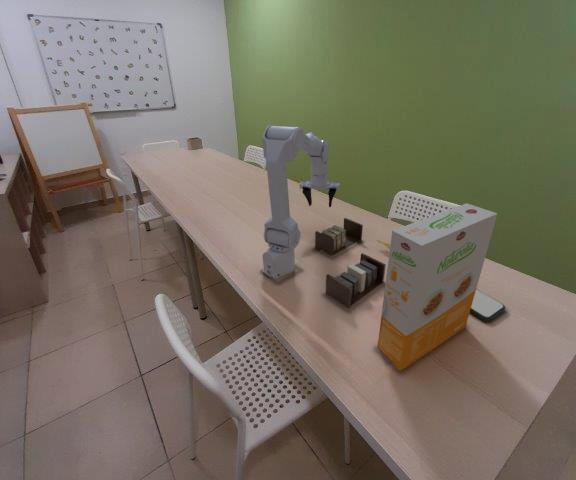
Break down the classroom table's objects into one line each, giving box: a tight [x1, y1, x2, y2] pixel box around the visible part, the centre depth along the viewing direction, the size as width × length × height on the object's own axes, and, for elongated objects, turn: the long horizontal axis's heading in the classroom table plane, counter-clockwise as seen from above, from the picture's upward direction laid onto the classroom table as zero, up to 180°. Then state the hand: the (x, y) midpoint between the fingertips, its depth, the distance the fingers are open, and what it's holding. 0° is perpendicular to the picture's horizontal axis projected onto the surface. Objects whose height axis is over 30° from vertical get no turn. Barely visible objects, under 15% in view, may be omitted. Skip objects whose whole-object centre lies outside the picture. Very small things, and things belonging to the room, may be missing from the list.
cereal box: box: [377, 203, 498, 372], centre depth 63 cm, size 22×6×30 cm, turn 120°
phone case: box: [469, 288, 506, 323], centre depth 80 cm, size 9×2×16 cm
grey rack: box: [325, 252, 387, 309], centre depth 83 cm, size 16×8×7 cm, turn 130°
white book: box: [346, 263, 366, 293], centre depth 83 cm, size 2×5×6 cm, turn 40°
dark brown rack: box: [314, 217, 364, 257], centre depth 106 cm, size 16×8×7 cm, turn 130°
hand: (320, 205), depth 114 cm, fingers open, 7 cm apart
